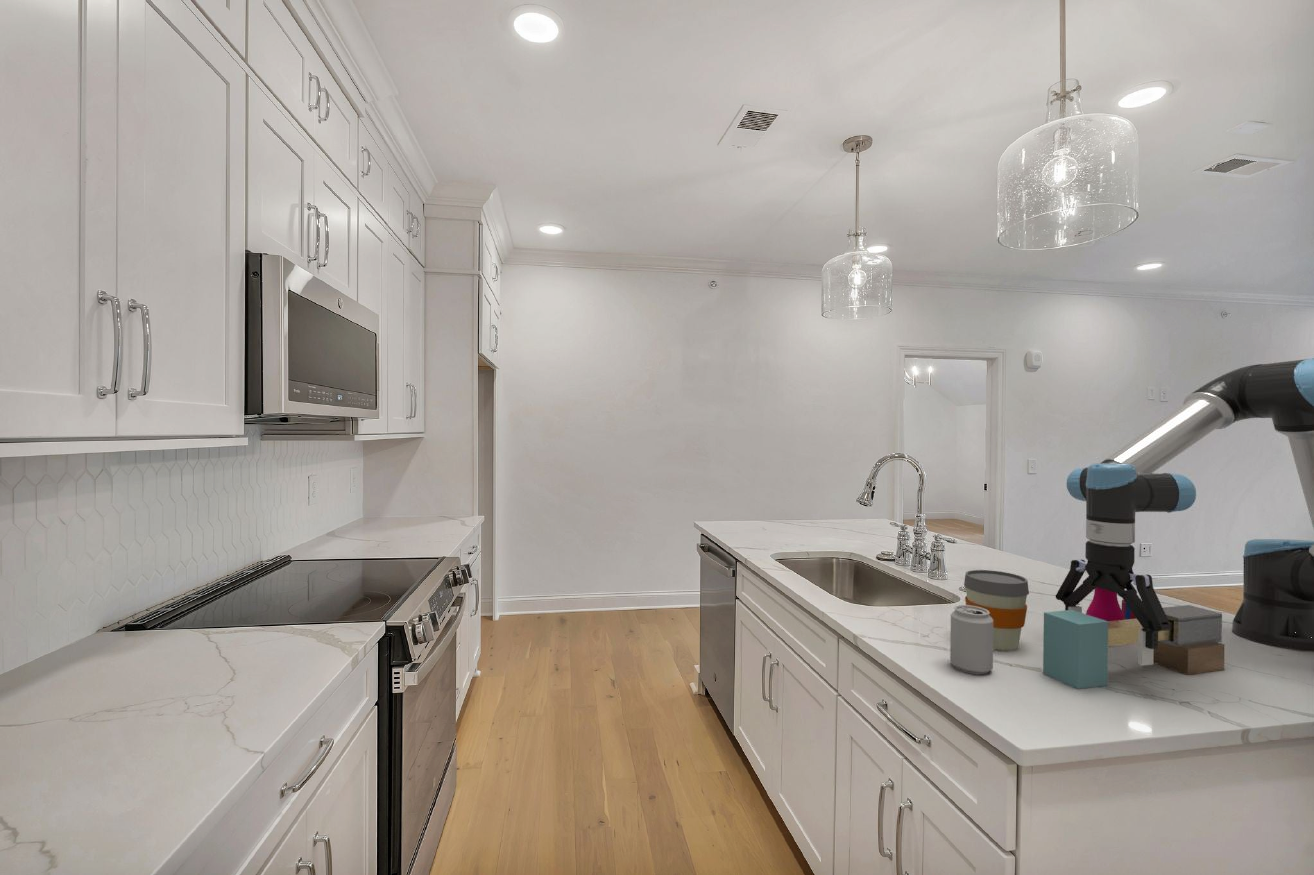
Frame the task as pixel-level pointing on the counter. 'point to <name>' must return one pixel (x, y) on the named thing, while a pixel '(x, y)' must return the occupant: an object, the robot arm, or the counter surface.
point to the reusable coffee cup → (999, 603)
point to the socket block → (1075, 648)
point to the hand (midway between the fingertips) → (1107, 650)
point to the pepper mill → (1105, 606)
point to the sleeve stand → (1192, 641)
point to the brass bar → (1131, 632)
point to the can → (971, 639)
